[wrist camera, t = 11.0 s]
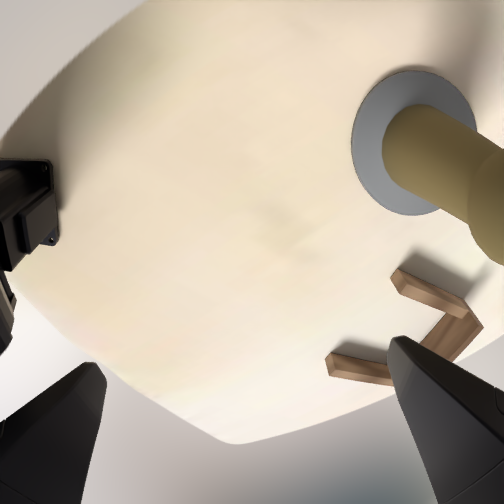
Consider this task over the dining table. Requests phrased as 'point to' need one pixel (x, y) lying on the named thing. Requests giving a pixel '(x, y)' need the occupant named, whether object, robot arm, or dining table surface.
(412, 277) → the holder
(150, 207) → the dining table surface
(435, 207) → the coaster
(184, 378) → the dining table surface
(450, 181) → the cork
